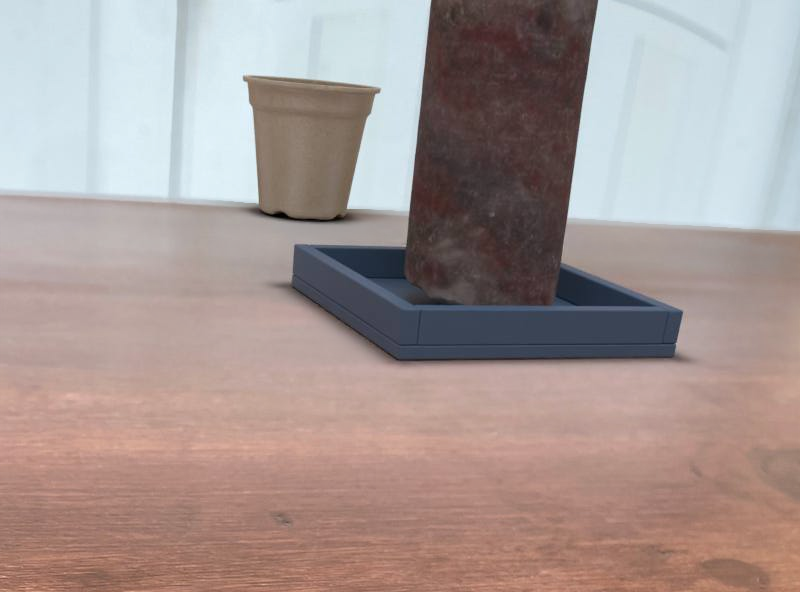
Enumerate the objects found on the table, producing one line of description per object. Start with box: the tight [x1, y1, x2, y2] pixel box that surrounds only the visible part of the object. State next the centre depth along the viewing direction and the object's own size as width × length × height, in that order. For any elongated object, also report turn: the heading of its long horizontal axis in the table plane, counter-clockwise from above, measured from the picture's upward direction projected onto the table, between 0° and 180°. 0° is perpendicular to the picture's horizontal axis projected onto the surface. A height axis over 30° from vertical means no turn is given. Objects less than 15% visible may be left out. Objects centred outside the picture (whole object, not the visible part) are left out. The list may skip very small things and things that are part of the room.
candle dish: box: [291, 243, 684, 361], centre depth 57 cm, size 14×15×2 cm
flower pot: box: [242, 74, 382, 221], centre depth 83 cm, size 9×9×9 cm
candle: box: [404, 0, 599, 306], centre depth 53 cm, size 8×7×20 cm
